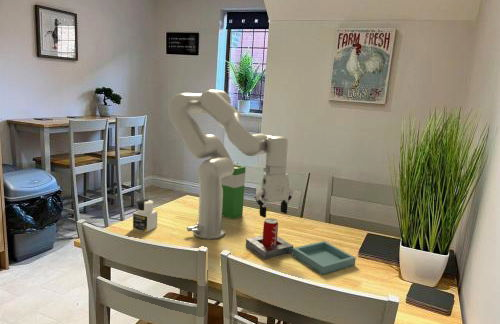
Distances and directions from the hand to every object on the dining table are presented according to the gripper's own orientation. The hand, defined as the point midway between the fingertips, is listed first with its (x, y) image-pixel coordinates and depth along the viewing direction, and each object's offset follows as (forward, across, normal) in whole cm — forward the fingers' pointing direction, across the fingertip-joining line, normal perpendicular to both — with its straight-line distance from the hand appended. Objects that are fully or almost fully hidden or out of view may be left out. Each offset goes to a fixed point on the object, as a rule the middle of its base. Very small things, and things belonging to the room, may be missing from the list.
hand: (273, 214), depth 135 cm
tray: (+15, +12, -15) cm, 25 cm away
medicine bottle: (+13, -36, +40) cm, 56 cm away
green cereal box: (+14, +3, +45) cm, 47 cm away
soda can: (+14, -1, +1) cm, 14 cm away
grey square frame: (+14, -1, +1) cm, 14 cm away
